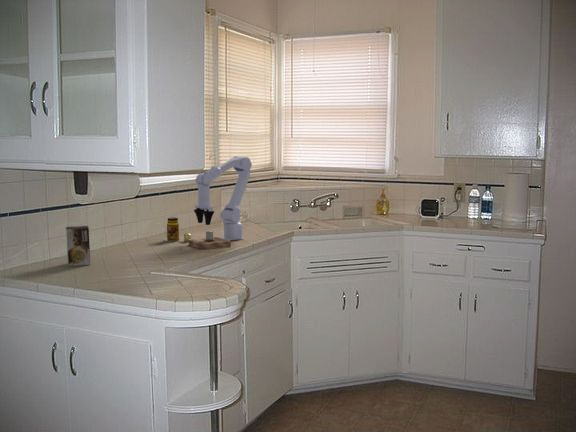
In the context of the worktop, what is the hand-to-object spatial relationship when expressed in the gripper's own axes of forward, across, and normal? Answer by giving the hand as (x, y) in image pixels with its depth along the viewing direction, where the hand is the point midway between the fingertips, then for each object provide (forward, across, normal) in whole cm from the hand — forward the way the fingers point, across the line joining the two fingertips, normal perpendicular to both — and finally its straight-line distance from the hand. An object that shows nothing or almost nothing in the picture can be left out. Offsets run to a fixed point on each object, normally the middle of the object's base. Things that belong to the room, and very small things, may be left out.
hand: (204, 223), depth 328 cm
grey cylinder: (+10, +8, -2) cm, 13 cm away
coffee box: (+10, +14, -70) cm, 72 cm away
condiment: (+10, -15, -10) cm, 21 cm away
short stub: (+10, -8, -5) cm, 14 cm away
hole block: (+10, +8, -1) cm, 13 cm away
